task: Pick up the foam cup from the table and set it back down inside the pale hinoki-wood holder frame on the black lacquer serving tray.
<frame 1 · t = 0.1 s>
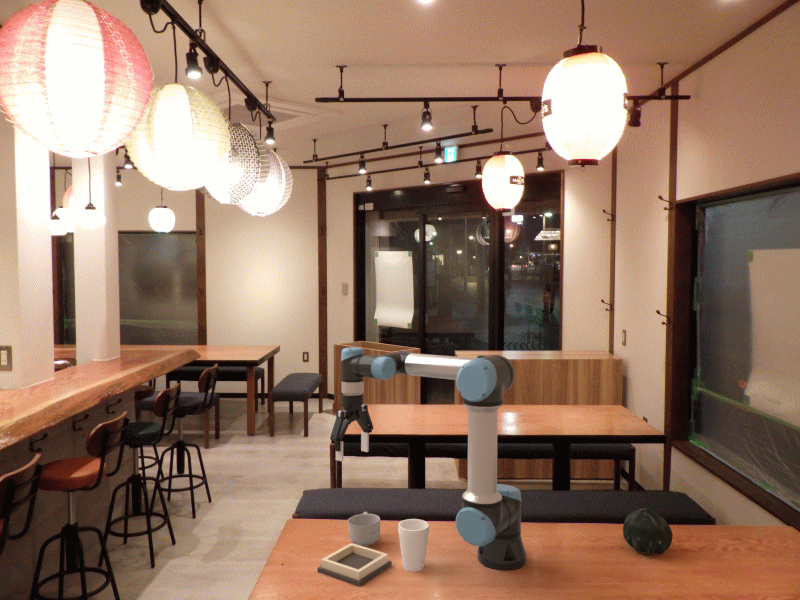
hand: (352, 455, 211), 28 cm above the table, tool pointing down, fingers open, 13 cm apart
tray: (355, 568, 189), on the table
teacup: (365, 541, 209), on the table
squash: (647, 550, 202), on the table
foam cup: (413, 567, 190), on the table
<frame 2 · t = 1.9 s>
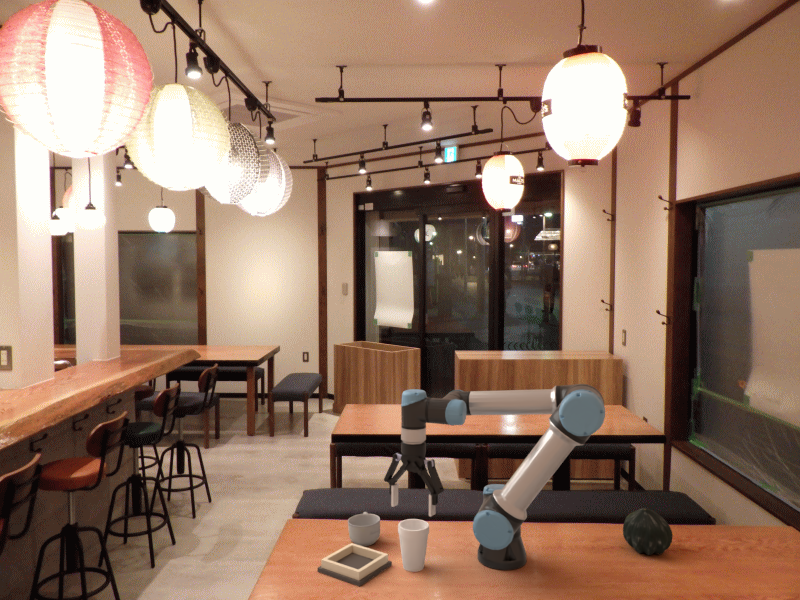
hand: (413, 510, 190), 17 cm above the table, tool pointing down, fingers open, 13 cm apart
nothing on the table moved.
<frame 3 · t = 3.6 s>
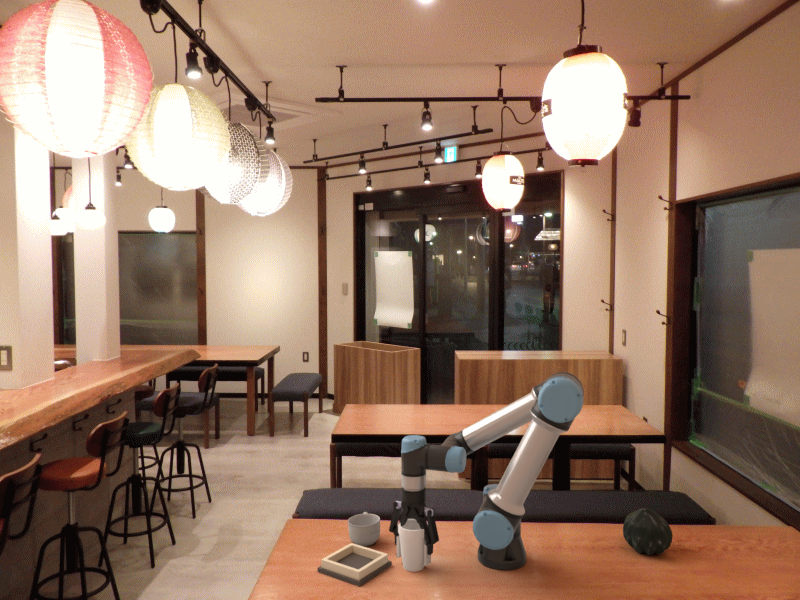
hand: (413, 560, 190), 2 cm above the table, tool pointing down, fingers closed on foam cup, 9 cm apart
foam cup: (413, 567, 190), on the table, touching gripper
everything else where it was.
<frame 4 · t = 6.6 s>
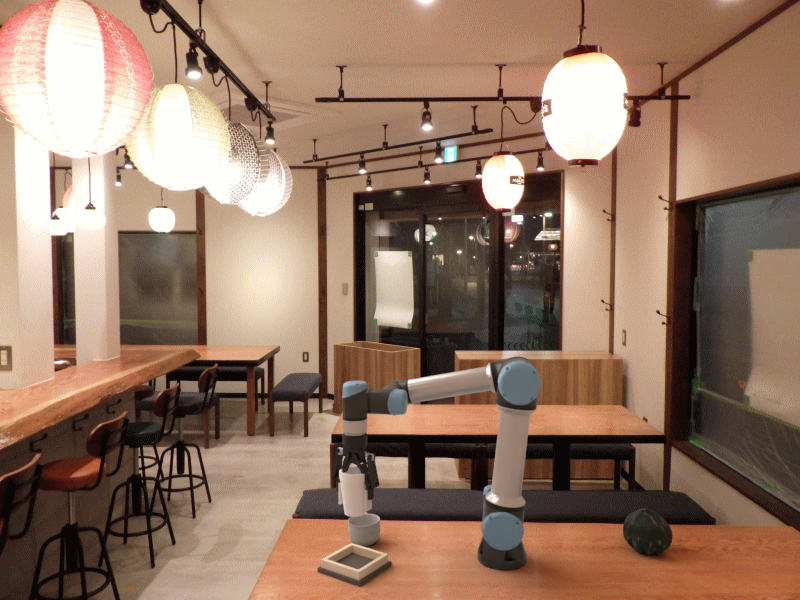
hand: (354, 506, 188), 19 cm above the table, tool pointing down, fingers closed on foam cup, 9 cm apart
foam cup: (355, 513, 188), point 17 cm above the table, touching gripper
everything else where it was.
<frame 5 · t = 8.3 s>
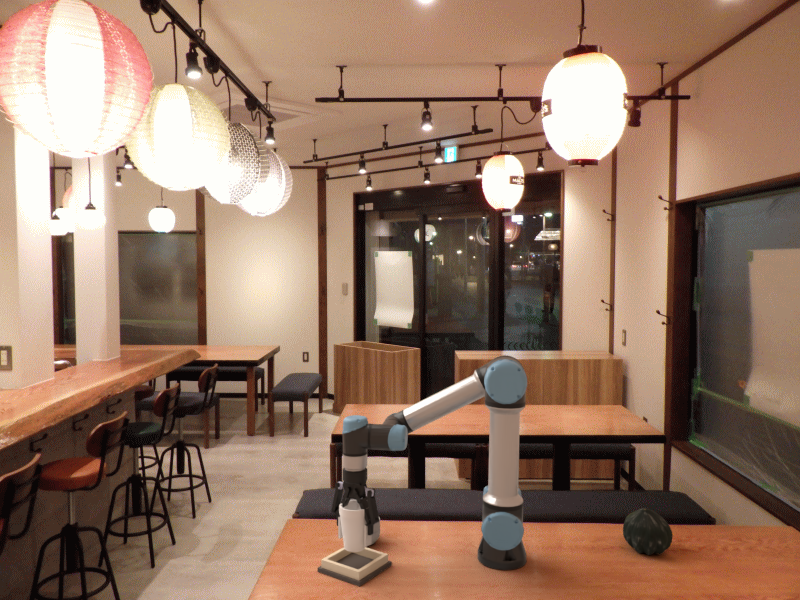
hand: (354, 540, 189), 8 cm above the table, tool pointing down, fingers closed on foam cup, 9 cm apart
foam cup: (354, 548, 189), point 6 cm above the table, touching gripper
everything else where it was.
when the fingers open (5 cm above the table, at t = 9.5 s): foam cup drops 2 cm, resting on tray.
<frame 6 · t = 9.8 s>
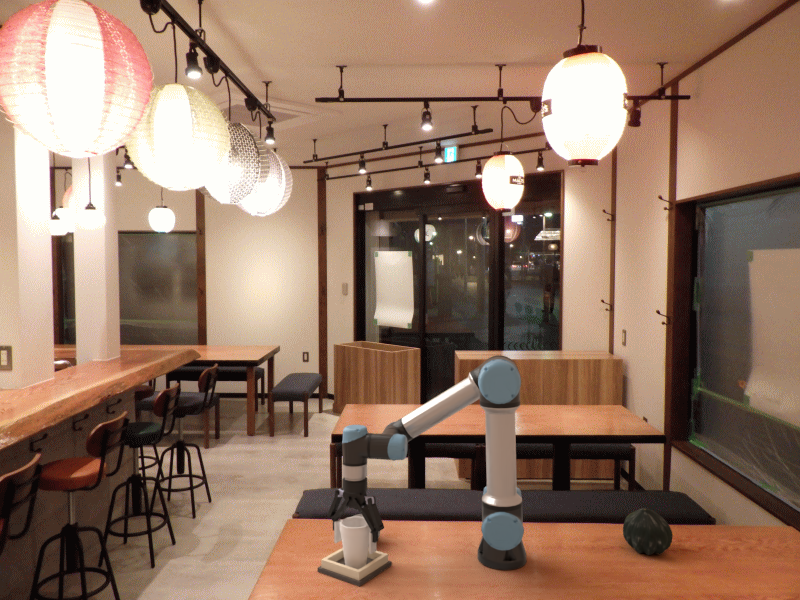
hand: (355, 546, 189), 7 cm above the table, tool pointing down, fingers open, 13 cm apart
foam cup: (355, 565, 189), point 1 cm above the table, touching tray
everything else where it was.
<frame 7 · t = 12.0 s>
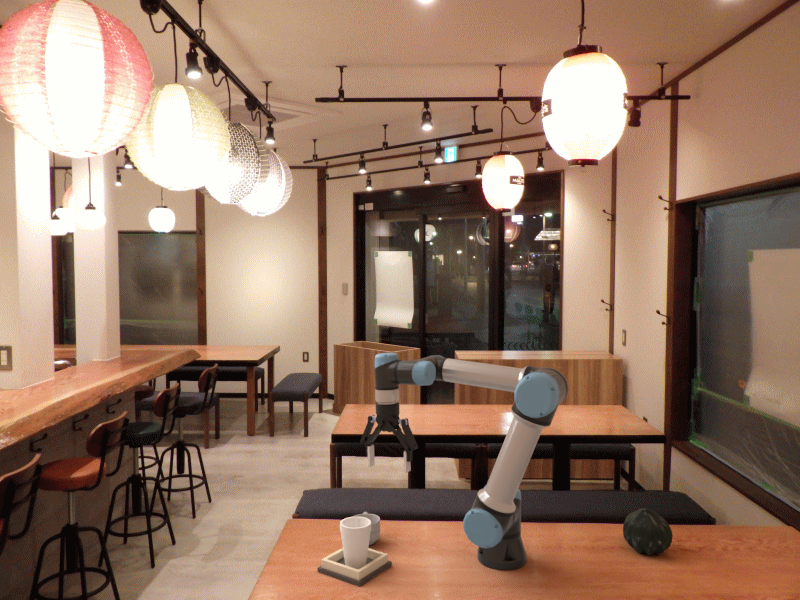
hand: (389, 468, 197), 28 cm above the table, tool pointing down, fingers open, 13 cm apart
nothing on the table moved.
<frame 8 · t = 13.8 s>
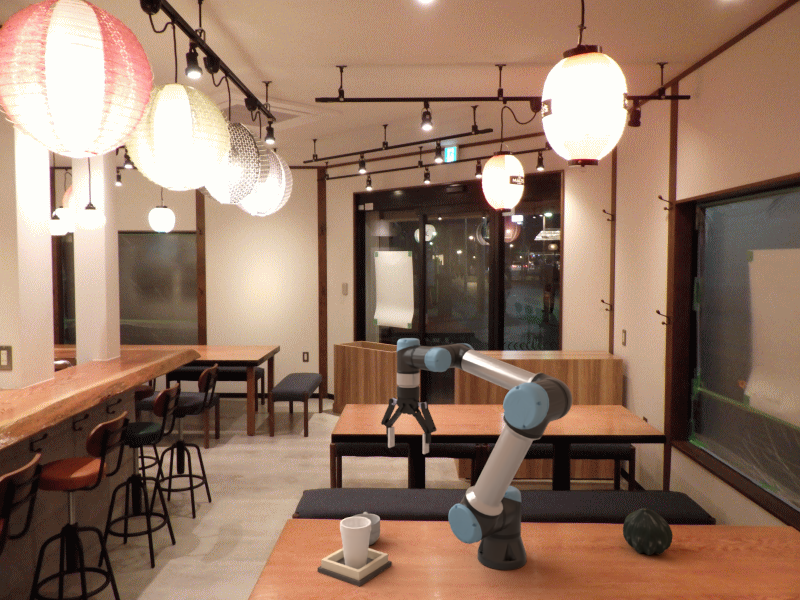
hand: (408, 449, 205), 32 cm above the table, tool pointing down, fingers open, 13 cm apart
nothing on the table moved.
at the end: foam cup 0.2 cm off-centre on the tray, point 1.0 cm above the tray's base; foam cup tilted 0°; the gripper is holding nothing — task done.
